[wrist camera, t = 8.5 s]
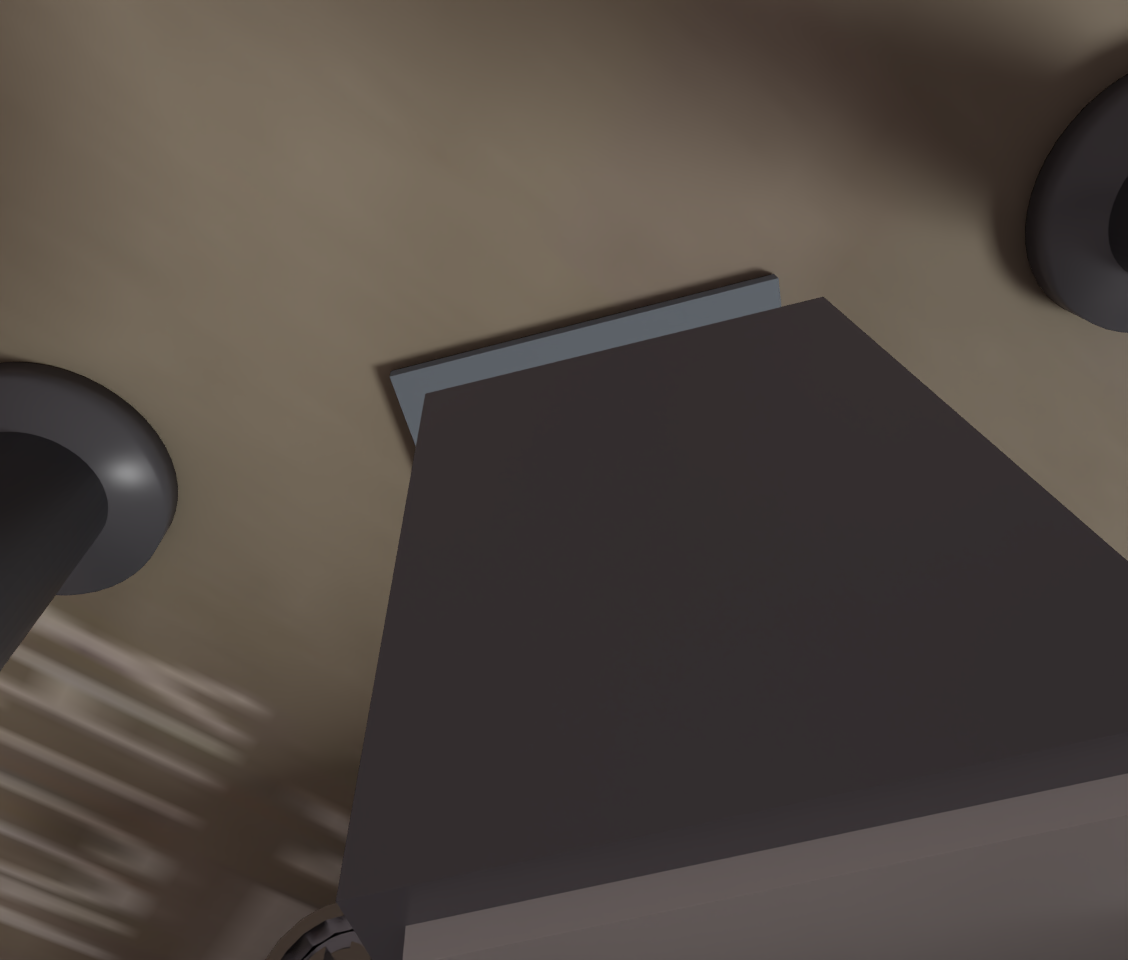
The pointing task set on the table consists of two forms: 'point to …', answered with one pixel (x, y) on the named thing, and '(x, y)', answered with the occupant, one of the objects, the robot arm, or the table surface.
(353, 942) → the robot arm
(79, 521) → the outer cord post
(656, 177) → the table surface
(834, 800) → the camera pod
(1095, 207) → the inner cord post
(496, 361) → the mat
